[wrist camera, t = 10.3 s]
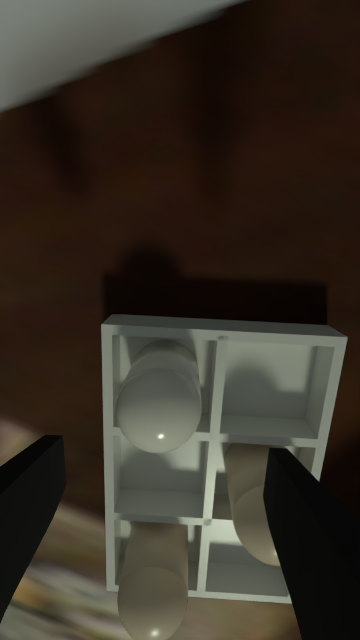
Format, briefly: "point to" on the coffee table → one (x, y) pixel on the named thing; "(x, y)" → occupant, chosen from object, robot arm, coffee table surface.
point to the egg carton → (210, 463)
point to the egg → (160, 398)
